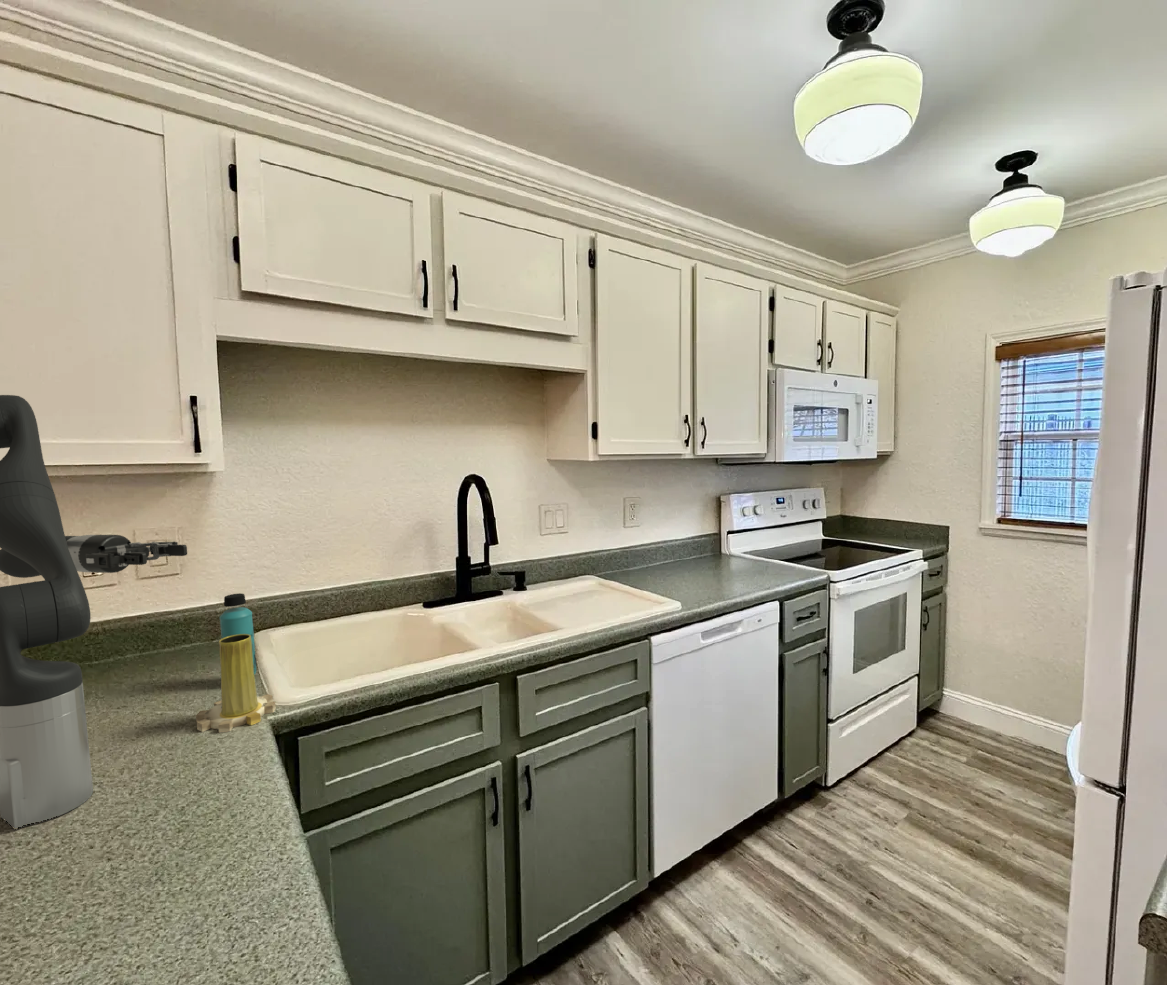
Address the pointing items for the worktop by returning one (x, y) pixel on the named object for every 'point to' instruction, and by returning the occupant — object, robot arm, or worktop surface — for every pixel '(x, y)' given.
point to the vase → (237, 676)
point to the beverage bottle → (237, 621)
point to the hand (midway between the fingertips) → (166, 554)
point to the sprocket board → (225, 724)
